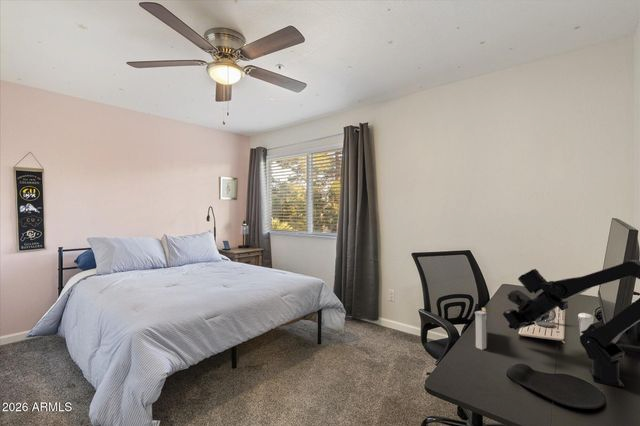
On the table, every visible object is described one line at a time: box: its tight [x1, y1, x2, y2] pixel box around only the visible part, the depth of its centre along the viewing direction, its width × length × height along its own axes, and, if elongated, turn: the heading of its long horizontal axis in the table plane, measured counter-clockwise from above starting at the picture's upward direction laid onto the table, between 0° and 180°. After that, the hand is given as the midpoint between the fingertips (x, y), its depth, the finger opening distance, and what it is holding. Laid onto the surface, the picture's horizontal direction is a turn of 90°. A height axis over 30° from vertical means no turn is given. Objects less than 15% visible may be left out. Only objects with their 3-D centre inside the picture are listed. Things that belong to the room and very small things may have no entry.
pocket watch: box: [535, 309, 557, 328], centre depth 133 cm, size 8×8×10 cm
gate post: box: [474, 310, 488, 351], centre depth 111 cm, size 3×3×13 cm
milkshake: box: [577, 311, 596, 337], centre depth 119 cm, size 5×5×10 cm
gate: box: [481, 306, 488, 347], centre depth 119 cm, size 16×1×9 cm, turn 154°
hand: (509, 327), depth 114 cm, fingers closed
